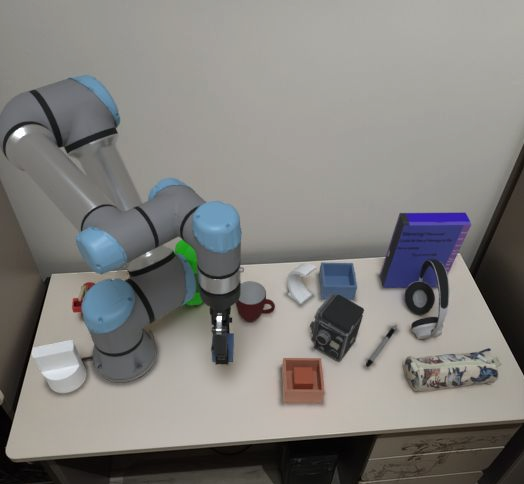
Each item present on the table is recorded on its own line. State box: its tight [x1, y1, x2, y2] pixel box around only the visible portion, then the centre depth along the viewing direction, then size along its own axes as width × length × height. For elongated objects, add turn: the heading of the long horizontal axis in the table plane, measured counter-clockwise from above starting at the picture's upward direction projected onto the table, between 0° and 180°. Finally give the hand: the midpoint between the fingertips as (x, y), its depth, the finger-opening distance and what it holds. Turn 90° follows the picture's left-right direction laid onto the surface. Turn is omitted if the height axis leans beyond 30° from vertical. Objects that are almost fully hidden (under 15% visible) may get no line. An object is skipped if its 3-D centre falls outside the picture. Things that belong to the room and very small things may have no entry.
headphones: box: [404, 259, 450, 340], centre depth 126 cm, size 19×8×20 cm, turn 0°
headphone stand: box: [286, 262, 318, 305], centre depth 134 cm, size 5×6×12 cm
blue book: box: [379, 212, 472, 289], centre depth 134 cm, size 17×5×24 cm, turn 93°
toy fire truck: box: [71, 281, 96, 317], centre depth 129 cm, size 3×14×10 cm, turn 6°
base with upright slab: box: [31, 339, 88, 394], centre depth 114 cm, size 9×9×12 cm
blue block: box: [210, 332, 235, 364], centre depth 104 cm, size 4×4×4 cm
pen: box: [365, 324, 398, 367], centre depth 127 cm, size 1×16×1 cm, turn 144°
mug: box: [235, 280, 276, 323], centre depth 129 cm, size 10×8×10 cm
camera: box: [309, 294, 365, 362], centre depth 122 cm, size 10×10×15 cm
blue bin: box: [318, 262, 358, 301], centre depth 138 cm, size 9×9×5 cm
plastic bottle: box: [174, 239, 204, 307], centre depth 126 cm, size 10×10×25 cm
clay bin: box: [281, 357, 326, 404], centre depth 117 cm, size 9×9×5 cm
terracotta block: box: [292, 367, 314, 389], centre depth 117 cm, size 4×4×4 cm
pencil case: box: [403, 347, 503, 392], centre depth 118 cm, size 22×8×10 cm, turn 97°
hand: (222, 352), depth 105 cm, fingers closed on blue block, 4 cm apart
